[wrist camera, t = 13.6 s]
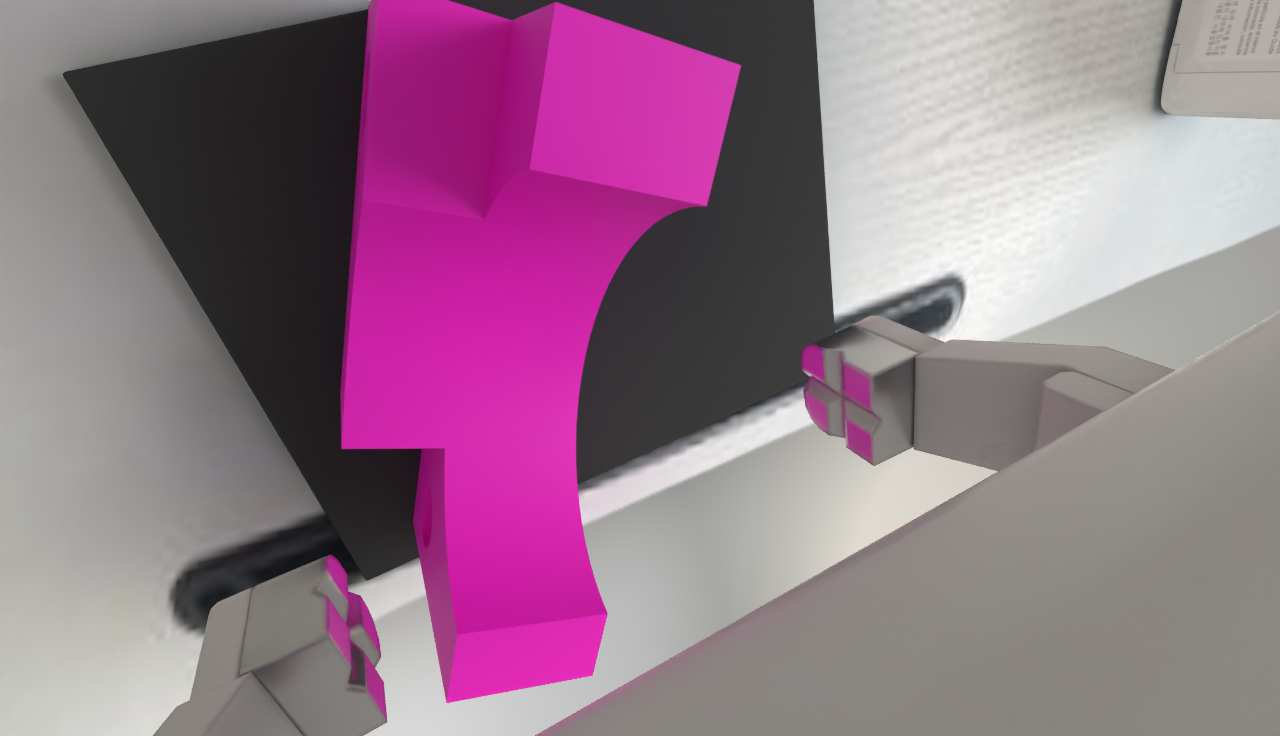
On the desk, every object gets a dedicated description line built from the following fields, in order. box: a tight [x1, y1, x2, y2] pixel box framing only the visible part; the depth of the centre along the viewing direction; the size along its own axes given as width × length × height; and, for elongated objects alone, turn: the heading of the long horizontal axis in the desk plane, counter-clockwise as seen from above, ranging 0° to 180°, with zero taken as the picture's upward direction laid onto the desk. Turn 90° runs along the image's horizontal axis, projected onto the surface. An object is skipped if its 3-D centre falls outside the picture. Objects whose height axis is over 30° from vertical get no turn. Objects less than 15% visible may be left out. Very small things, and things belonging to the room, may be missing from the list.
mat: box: [63, 0, 835, 580], centre depth 20 cm, size 20×16×1 cm
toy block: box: [340, 0, 741, 703], centre depth 16 cm, size 15×6×8 cm, turn 167°
